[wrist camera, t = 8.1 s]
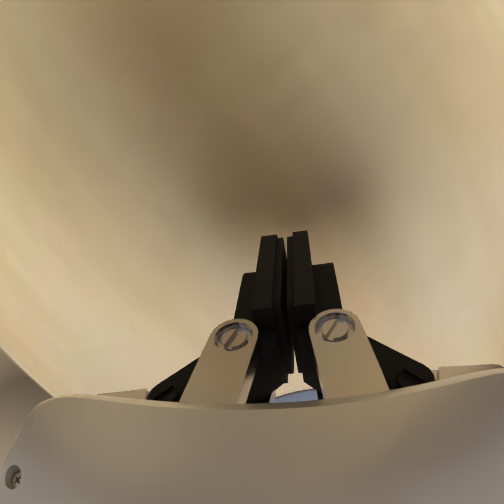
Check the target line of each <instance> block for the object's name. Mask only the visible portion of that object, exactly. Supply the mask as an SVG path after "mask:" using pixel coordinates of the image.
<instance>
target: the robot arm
mask: <svg viewBox="0 0 504 504" xmlns="http://www.w3.org/2000/svg"><path fill="white" fill-rule="evenodd" d="M294 351H295V356H296V362H297V367H298V373H303V379H304V382H305V383H307V384H308V385H309V386H311V387H312V388H314V389H315V390H316V396H317V400H311V401H299V402H283V403H274V402H275V398H276V391H275V390H276V389H277V388H279V387H280V386H281V385H282V384H283V383H288V374H292V373H294ZM0 504H504V367H502V366H500V365H496V364H488V365H472V366H450V367H439V368H438V370H430V369H429V368H428V367H426V366H425V365H423V364H421V363H419V362H417V361H415V360H413V359H411V358H409V357H407V356H405V355H403V354H401V353H399V352H397V351H395V350H393V349H391V348H389V347H387V346H385V345H383V344H381V343H379V342H378V341H376V340H374V339H372V338H370V337H368V336H367V335H366V333H365V331H364V329H363V326H362V324H361V322H360V320H359V319H358V317H357V316H356V315H355V314H353V313H352V312H350V311H347V310H344V309H342V305H341V300H340V294H339V289H338V284H337V279H336V275H335V270H334V265H333V263H326V264H318V265H312V262H311V254H310V247H309V239H308V232H307V230H306V231H299V232H293V236H291V237H287V257H286V251H285V246H284V240H283V238H278V237H277V235H269V236H262V237H261V243H260V249H259V256H258V262H257V269H256V272H252V273H244V274H243V278H242V282H241V287H240V292H239V297H238V301H237V306H236V311H235V316H234V319H232V320H228V321H225V322H223V323H222V324H220V325H218V326H217V327H216V328H215V329H214V330H213V331H212V333H211V334H210V336H209V338H208V341H207V343H206V345H205V347H204V349H203V351H202V354H201V356H200V357H199V358H197V359H196V360H194V361H193V362H191V363H190V364H188V365H187V366H185V367H184V368H182V369H181V370H179V371H178V372H176V373H175V374H173V375H171V376H170V377H168V378H167V379H165V380H164V381H162V382H161V383H159V384H158V385H156V386H155V387H154V388H153V389H152V390H151V391H149V392H148V390H147V389H139V390H131V391H123V392H114V393H104V394H98V395H89V394H74V395H63V396H59V397H54V398H51V399H48V400H45V401H43V402H41V403H39V404H38V405H37V406H36V407H35V408H34V409H33V410H32V411H31V413H30V414H29V416H28V417H27V419H26V420H25V422H24V424H23V425H22V427H21V429H20V431H19V432H18V434H17V436H16V438H15V440H14V442H13V445H12V447H11V449H10V451H9V453H8V455H7V458H6V460H5V462H4V465H3V468H2V470H1V473H0Z"/></svg>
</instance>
